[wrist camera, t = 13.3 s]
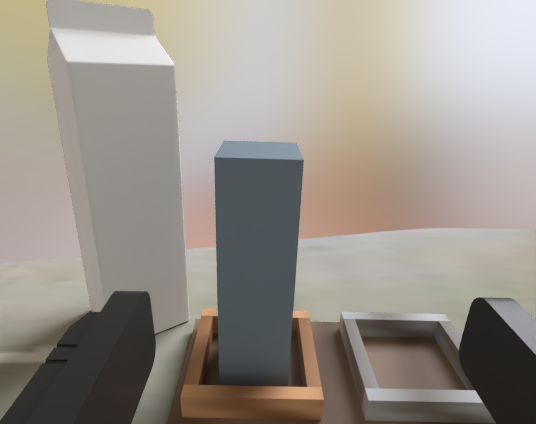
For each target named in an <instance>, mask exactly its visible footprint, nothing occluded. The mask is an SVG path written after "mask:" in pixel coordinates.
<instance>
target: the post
mask: <svg viewBox="0 0 536 424" xmlns="http://www.w3.org/2000/svg"><path fill="white" fill-rule="evenodd" d="M214 159H215V203H216V204H215V205H216V251H217V297H218V342H219V385H229V386H280V387H288V377H289V362H290V348H291V334H292V319H293V305H294V290H295V276H296V262H297V247H298V233H299V219H300V204H301V190H302V175H303V157H302V155H301V153H300V150H299V148H298V146H297V143H279V142H247V141H223V143H222V145H221V147H220V148H219V150H218V152H217V154H216V155H215V158H214Z"/></svg>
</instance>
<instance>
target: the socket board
mask: <svg viewBox="0 0 536 424" xmlns="http://www.w3.org/2000/svg"><path fill="white" fill-rule="evenodd" d="M461 339H462V337H461V336H460V334H459V333H458V332H457V330H456V329H455V328H454V326H453V325H452V323H451V322H450V321H449V319H448V318H447V317H446V315H445V314H417V313H374V312H341V317H340V322H310V318H309V312H308V311H293V319H292V334H291V348H290V362H289V377H288V387H280V386H229V385H219V342H218V309H203V312H202V316H201V319H196V322H195V325H194V329H193V333H192V336H191V340H190V343H189V347H188V351H187V354H186V358H185V361H184V365H183V369H182V372H181V376H180V379H179V383H178V387H177V390H176V394H175V397H174V401H173V405H172V408H171V412H170V415H169V419H168V423H167V424H496V422H495V421H494V419H493V418H492V416H491V415H490V413H489V411H488V410H487V408H486V407H485V405H484V403H483V402H482V400H481V399H480V397H479V396H478V394H477V392H476V391H475V389H474V388H473V386H472V385H471V383H470V381H469V380H468V378H467V377H466V375H465V373H464V372H463V369H462V367H461V363H460V359H459V346H460V342H461Z"/></svg>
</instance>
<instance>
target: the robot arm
mask: <svg viewBox="0 0 536 424" xmlns="http://www.w3.org/2000/svg"><path fill="white" fill-rule="evenodd" d="M155 349H156V341H155V333H154V325H153V316H152V308H151V300H150V295H149V293H148V292H147V291H115V292H113V293H112V295H111V296H110V298H109V299H108V301H107V302H106V304H105V305H104V307H103V308H102V310H101V311H100V312H89V313H88V314H86V315H85V316H84V317H82V318H81V319H80V320H78V321H77V322H76V323H74V324H73V325H72V326H70V328H69V329H68V330H67V332H66V333H65V334H64V336H63V337H62V338H61V340H60V341H59V342H58V344H57V348H54V349H53V350H52V352H51V353H50V354H49V356H48V357H47V359H46V362H45V364H42V365H41V367H40V368H39V369H38V371H37V372H36V373H35V375H34V376H33V377H32V379H31V380H30V381H29V383H28V384H27V385H26V387H25V388H24V389H23V391H22V392H21V394H20V395H19V396H18V398H17V399H16V400H15V402H14V403H13V404H12V406H11V407H10V408H9V410H8V411H7V412H6V414H5V415H4V416H3V418H2V419H1V420H0V424H131V422H132V420H133V417H134V414H135V412H136V409H137V406H138V404H139V401H140V398H141V396H142V393H143V390H144V388H145V385H146V382H147V380H148V377H149V374H150V372H151V369H152V366H153V362H154V357H155ZM459 359H460V363H461V367H462V369H463V372H464V373H465V375H466V377H467V378H468V380H469V381H470V383H471V385H472V386H473V388H474V389H475V391H476V392H477V394H478V396H479V397H480V399H481V400H482V402H483V403H484V405H485V407H486V408H487V410H488V411H489V413H490V415H491V416H492V418H493V419H494V421H495V422H496V424H536V320H535V319H534V318H533V317H532V316H531V315H530V314H529V313H528V312H527V311H526V310H524V309H523V308H522V307H521V306H520V305H519V304H518V303H517V302H516V301H515V300H513V299H511V298H476V299H474V301H473V302H472V304H471V307H470V310H469V314H468V317H467V321H466V324H465V328H464V332H463V335H462V339H461V342H460V346H459Z"/></svg>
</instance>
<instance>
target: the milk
mask: <svg viewBox="0 0 536 424" xmlns="http://www.w3.org/2000/svg"><path fill="white" fill-rule="evenodd" d="M46 8H47V14H48V20H49V26H50V33H49V46H48V58H47V61H48V67H49V72H50V78H51V84H52V90H53V95H54V101H55V107H56V112H57V118H58V124H59V130H60V135H61V140H62V147H63V152H64V158H65V164H66V169H67V175H68V181H69V187H70V192H71V198H72V203H73V210H74V215H75V220H76V227H77V232H78V238H79V244H80V249H81V255H82V261H83V267H84V272H85V278H86V284H87V289H88V295H89V301H90V306H91V310H92V312H100V311H101V310H102V308H103V307H104V305H105V304H106V302H107V301H108V299H109V298H110V296H111V295H112V293H113V292H115V291H147V292H148V293H149V295H150V300H151V308H152V316H153V325H154V333H155V334H156V333H159V332H161V331H164V330H166V329H169V328H171V327H174V326H176V325H179V324H181V323H184V322H186V321H188V320H189V303H188V286H187V268H186V251H185V233H184V215H183V200H182V181H181V163H180V146H179V128H178V110H177V94H176V78H175V77H176V75H175V65H174V63H173V61H172V60H171V59H170V57H169V56H168V54H167V53H166V52H165V50H164V49H163V47H162V46H161V44H160V43H159V42H158V40H157V39H156V37H155V31H154V18H153V14H152V12H151V11H150V10H148V9H142V8H134V7H126V6H118V5H110V4H102V3H94V2H86V1H78V0H47V2H46Z"/></svg>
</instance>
